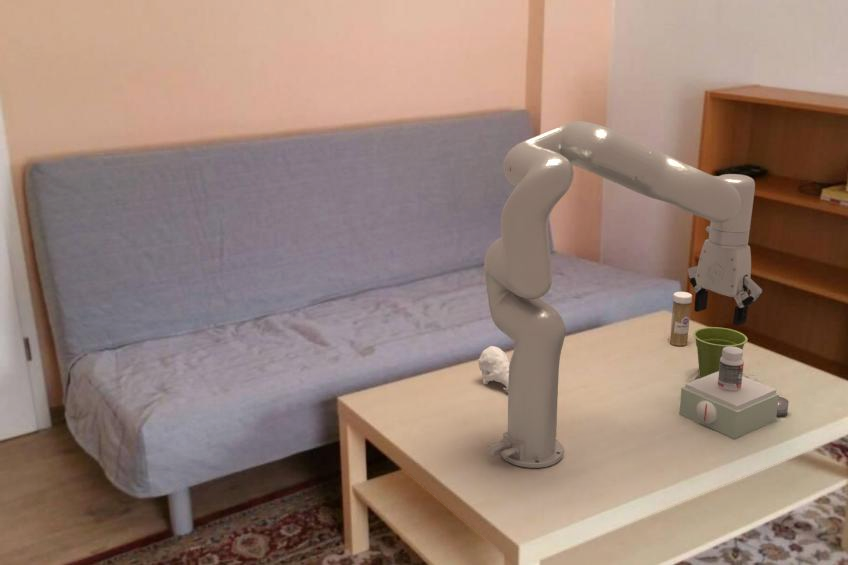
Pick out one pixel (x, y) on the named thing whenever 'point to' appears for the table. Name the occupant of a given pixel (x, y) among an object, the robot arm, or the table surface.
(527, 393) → the robot arm
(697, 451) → the table surface
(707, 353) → the plant pot
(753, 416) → the scale
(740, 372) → the pill bottle
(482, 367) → the white lumpy rounded piece
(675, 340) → the sprinkles bottle
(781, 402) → the spacer
